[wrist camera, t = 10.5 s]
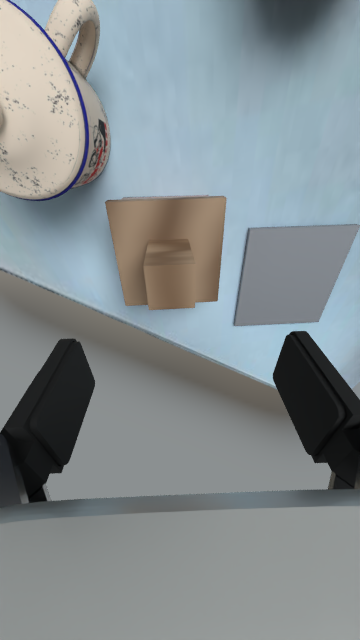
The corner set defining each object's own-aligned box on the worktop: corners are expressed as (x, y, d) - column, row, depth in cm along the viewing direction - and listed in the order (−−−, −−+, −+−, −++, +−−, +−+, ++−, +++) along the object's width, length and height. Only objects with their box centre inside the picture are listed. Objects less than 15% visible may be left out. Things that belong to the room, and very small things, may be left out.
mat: (356, 224, 26) (360, 225, 26) (316, 319, 34) (318, 321, 34) (248, 227, 26) (250, 229, 25) (233, 323, 34) (234, 325, 34)
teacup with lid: (81, 208, 24) (27, 240, 14) (-11, 131, 20) (-172, 104, 10) (154, 97, 19) (144, 37, 10) (52, -33, 15) (-135, -355, 6)
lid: (223, 195, 19) (248, 211, 14) (215, 295, 25) (230, 336, 19) (108, 200, 19) (83, 217, 13) (127, 300, 25) (115, 342, 19)
